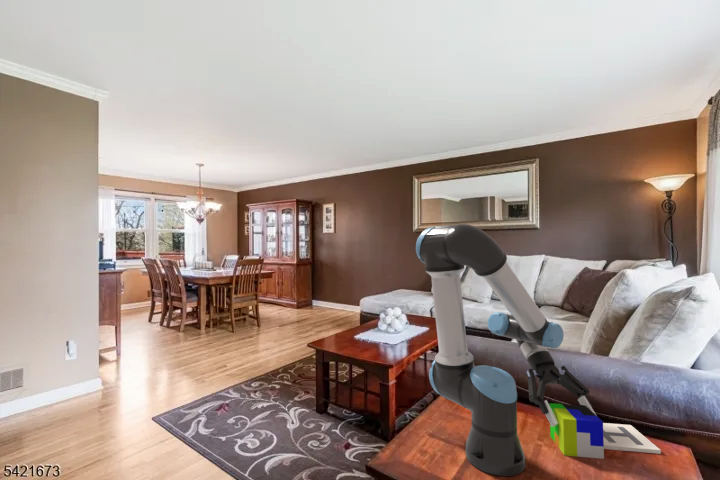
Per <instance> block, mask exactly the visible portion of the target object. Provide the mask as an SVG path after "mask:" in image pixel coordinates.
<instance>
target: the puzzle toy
mask: <svg viewBox="0 0 720 480" xmlns="http://www.w3.org/2000/svg"><path fill="white" fill-rule="evenodd" d="M549 406H550V408H551V409H552V411H553V413H554V415H555V417H556V419H557V421H558V423H559V424H557V425H556V426H554V427H551V425H549V427H550V428H549V429H550V433H549V436H550V438H551V439H552V440H553V442H554V443H555V445H556V446H557V448H559V450H560V451H561V453H562V454H563V455H564V456H566V457H567V456H569V457H579V458H590V459H603V460H604V459H605V449H604V440H603V423H604V421H603V420H602V419H601V418H600V417H598V416H596V415H597V414H596V413H595V414H596V415H595V414H594V413H593V412H592V411H591V410H590V409H589V408H588V407H587V406H585V405H580V404H571V403H570V404H568V403H554V402H553V403H551V402H550V403H549Z"/></svg>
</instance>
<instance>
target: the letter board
mask: <svg viewBox="0 0 720 480" xmlns="http://www.w3.org/2000/svg"><path fill="white" fill-rule="evenodd" d="M603 440H604V450H611V451H623V452H635V453H647V454H648V453H649V454H657V455H658V454H659V455H662V450H661V448H659V447H658V446H657V445H656V444H654V443H653V442H651V440H649V439H648V438H647V437H646V436H644V435H643V434H642V433H641V432H639V430H637V429H636V427H634V426H633V425H631V424H621V423H610V422H608V423H607V422H603Z"/></svg>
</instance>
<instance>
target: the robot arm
mask: <svg viewBox="0 0 720 480" xmlns="http://www.w3.org/2000/svg"><path fill="white" fill-rule="evenodd" d="M415 253H416V256H417V258H418V259H419V260H420V262H422V263H423V264H424V269H425V273H426V274H428V275H429V276H430V278H431V288H432V296H433V305H434V315H435V316H434V317H435V326H436V334H437V335H436V336H437V344H438V352H437V353H436V355H435V356H434V360H433V361H432V363H431V367H430V368H429V373H428V377H429V378H428V379H429V383H430V385H431V388H432V389H433V391H435V393H437V394H439V395H440V396H441V397H442V398H444V399H445V400H448V401H451V402H452V403H455V404H457V405H459V406H460V407H462V408H465V410H468V411H470V412H471V427H470V430H469V433H468V436H467V439H466V442H465V457H466V459H467V461H468V462H469V463H470V464H471V465H472V466H473V467H475V468H476V469H478V470H480V471H482V472H484V473H486V474H491V475H494V476H499V477H500V476H501V477H511V476H516V475H517V476H518V475H519V474H520V473H523V472H524V470H525V468H526V456H525V452H524V449H523V446H522V444H521V441H520V437H519V435H518V404H517V403H518V402H517V401H518V392H517V383H516V380H515V378H514V377H513V376H512V375H511V374H510V373H509V372H508V371H505V370H504V369H501V368H499V367H497V366H496V367H495V366H490V365H486V364H485V365H484V364H481V365H475V362H474V361H475V360H474V358H475V357H474V355H473V354H472V353H471V352H470V351H468V350H469V349H468V342H467V333H466V323H465V311H464V302H463V293H462V291H463V290H462V282H461V273H462V272H463V271H464V270H465V267H468V268H470V269H471V270H473V272H474V273H475V274H476V275H477V276H479V277H482V278H483V279H484V280H485V281H486V283H487V284H488V286H489V287H490V289H492V291H493V292H494V293H495V295H496V296H497V297H498V299H499V300H500V301H501V303H502V304H503V306H504V307H505V308H506V309H507V311H508V312H509V313H510V314H506V313H505V312H500V311H496V312H493V313H491V314H490V315H489V317H488V319H487V328H488V329H489V331H490V332H491V334H494V335H497V336H500V337H506V338H508V339H513V340H515V341H516V342H517V345H518V346H519V348H520V350H521V352H522V354H523V355H524V358H525V359H526V361H527V363H528V365H529V369H528V370H527V371H526V372H525V374H526V378H527V383H528V398H529V402H530V403H534V404H535V405H537V406H538V407H539V409H540V411H541V413H542V414H543V415H545V417H546V419H547V420H548V422H549V424H550V425H551V427H554V426H556V425H557V424H559V423H558V421H557V419H556V417H555V415H554V413H553V411H552V409H551V408H550V403H549V402H548V400H547V399H545V398H544V397H545V392H546V387H547V385H550V384H557V385H560V386H561V387H563V388H564V389H566V390H567V391H568V392H570V393H571V394H573V395H574V396H575V397H577V398H578V399H577V402H578V403H579V405H585V406H587V407H588V408H589V409H590V410H591V411H592V412H593V413H594V414H595V415H596V416H597V414H596V412H595V411H594V409H593V405H592V403H591V401H590V399H589V398H588V397H587V395H588V394H589V393H590V389H588V388H587V387H586V386H585V384H583V383H582V382H581V381H580V380H579V379H577V377H575V376H574V375H573V374H572V373H571V372H570V371H569V369H568V368H567V367H566V366H565V365H561V367H557V366H556V365H555V360H554V358H553V356H552V355H551V353H550V351H549V350H548V348H551V349H556V348H559V347H560V346H561V345H562V343H563V341H564V335H565V334H564V330H563V328H562V327H563V326H561V325H560V324H558V323H555V322H554V321H548V320H547V318H546V317H545V315H544V314H543V312H542V311H541V310H540V308H539V307H538V305H537V304H536V302H535V300H533V298H532V297H531V295H530V294H529V293H528V291H527V289H526V288H525V287H524V285H523V284H522V283H521V281H520V279H519V278H518V276H516V275H517V274H515V272H514V271H513V270H512V268H511V267H510V265H509V264H508V256H507V253H505V251H504V250H503V249H502V247H501V246H500V245H499V244H498V242H497V241H496V240H495V239H493V237H491V236H490V235H489V234H487V233H486V231H483V230H482V229H480V228H478V227H477V226H475V225H472V224H468V223H467V224H466V223H459V224H450V225H436V226H432V227H427V228H426V229H424V230H423V231H422V232H421V233H420V235H419V236H418V237H417V240H416V244H415ZM536 377H537V378H538V382H537V379H536ZM537 384H538V386H537ZM544 399H545V400H544ZM597 417H598V416H597ZM550 425H549V426H550Z"/></svg>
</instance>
